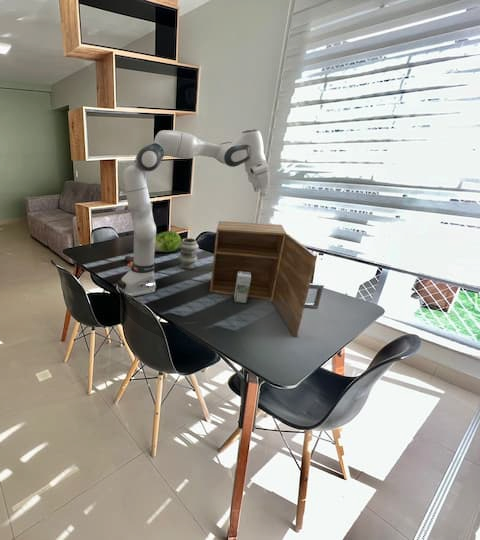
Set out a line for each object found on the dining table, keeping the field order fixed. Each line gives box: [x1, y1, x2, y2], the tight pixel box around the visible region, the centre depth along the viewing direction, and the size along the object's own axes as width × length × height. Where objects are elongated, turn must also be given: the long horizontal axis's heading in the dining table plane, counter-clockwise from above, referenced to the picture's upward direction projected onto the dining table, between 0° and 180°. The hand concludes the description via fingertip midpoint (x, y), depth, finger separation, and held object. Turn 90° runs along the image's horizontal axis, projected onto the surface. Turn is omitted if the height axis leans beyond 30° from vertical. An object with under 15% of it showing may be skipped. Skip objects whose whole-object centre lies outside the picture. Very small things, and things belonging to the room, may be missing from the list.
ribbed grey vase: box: [177, 237, 199, 271], centre depth 182 cm, size 12×12×18 cm
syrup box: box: [233, 271, 251, 304], centre depth 140 cm, size 6×6×14 cm
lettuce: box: [155, 230, 182, 253], centre depth 213 cm, size 16×21×15 cm
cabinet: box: [209, 220, 288, 301], centre depth 148 cm, size 18×30×34 cm, turn 69°
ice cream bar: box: [124, 255, 134, 265], centre depth 194 cm, size 3×5×15 cm
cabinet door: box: [271, 233, 325, 337], centre depth 121 cm, size 7×30×34 cm, turn 169°
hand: (259, 193), depth 140 cm, fingers open, 8 cm apart
